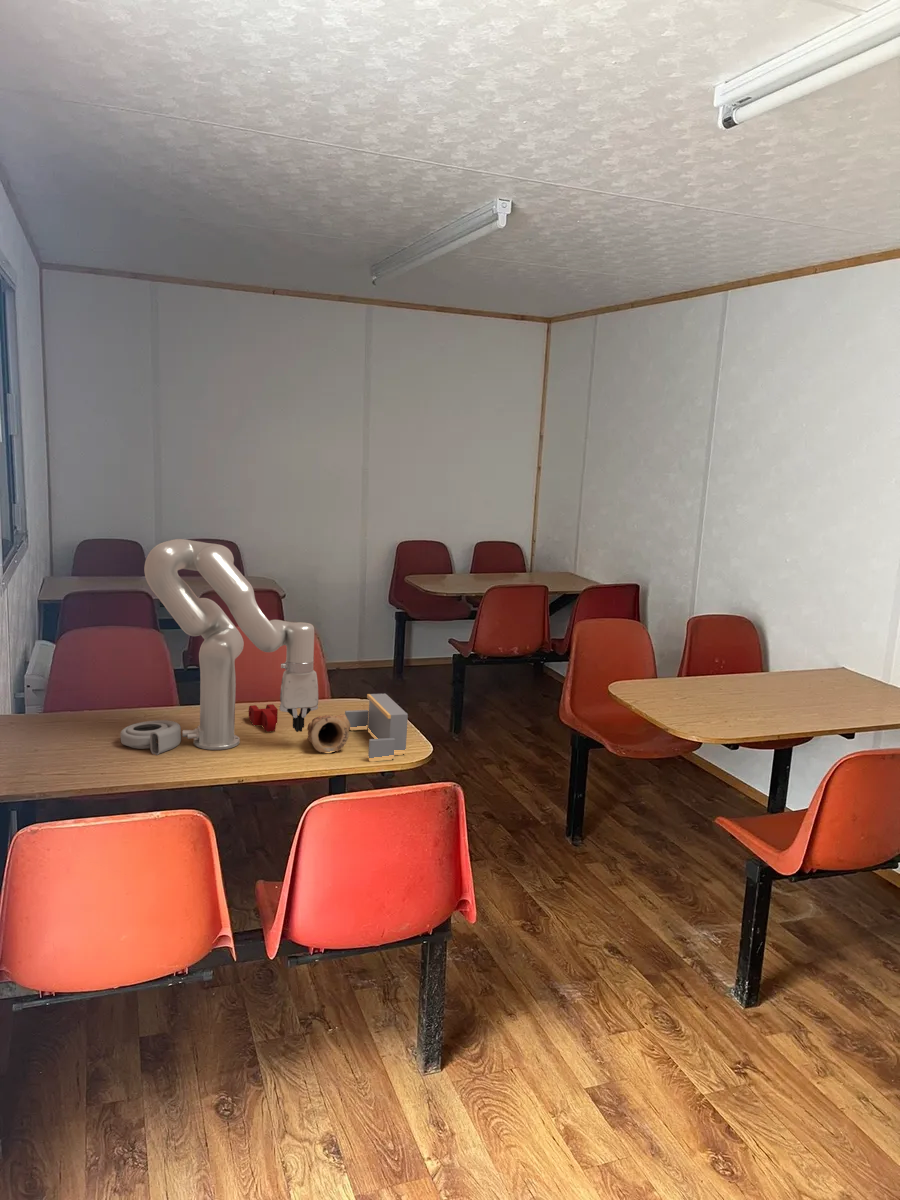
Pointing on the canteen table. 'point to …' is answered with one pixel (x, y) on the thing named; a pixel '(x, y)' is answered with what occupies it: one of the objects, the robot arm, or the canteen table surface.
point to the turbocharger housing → (152, 735)
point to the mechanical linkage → (264, 716)
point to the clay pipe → (328, 732)
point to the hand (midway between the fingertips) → (298, 730)
